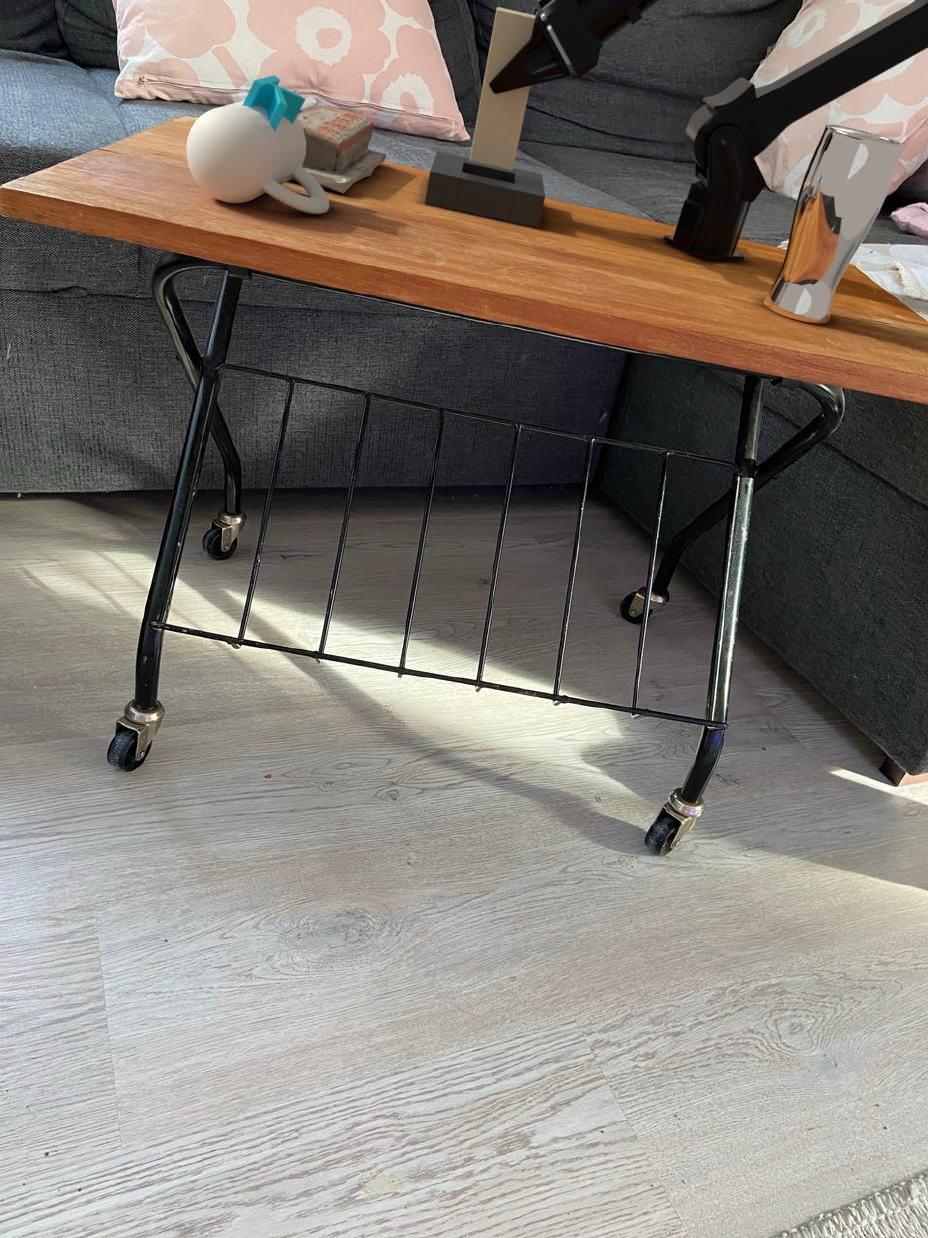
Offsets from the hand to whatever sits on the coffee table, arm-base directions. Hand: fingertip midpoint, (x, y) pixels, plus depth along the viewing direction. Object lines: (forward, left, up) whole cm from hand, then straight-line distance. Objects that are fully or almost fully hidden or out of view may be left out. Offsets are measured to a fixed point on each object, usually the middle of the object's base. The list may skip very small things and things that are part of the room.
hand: (491, 86), depth 95 cm
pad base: (-1, +1, -11) cm, 11 cm away
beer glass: (-15, +32, -11) cm, 37 cm away
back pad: (-1, +1, -7) cm, 7 cm away
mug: (+25, +4, -11) cm, 27 cm away
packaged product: (+13, -9, -11) cm, 19 cm away
